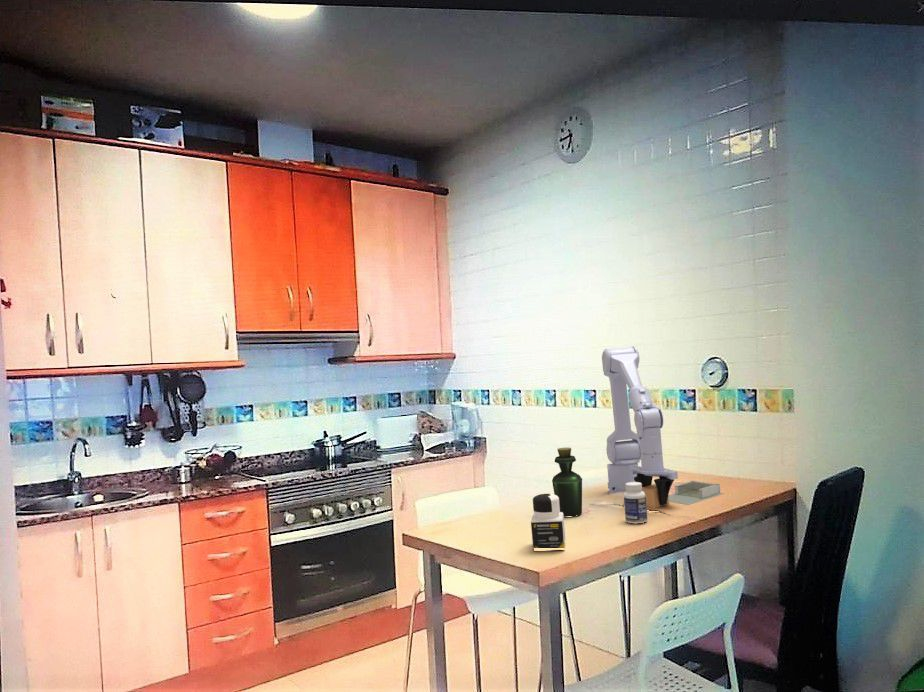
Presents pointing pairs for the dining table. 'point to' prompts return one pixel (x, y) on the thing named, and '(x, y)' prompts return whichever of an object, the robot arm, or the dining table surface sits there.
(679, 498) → the deck plate
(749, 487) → the dining table surface
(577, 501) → the potion bottle
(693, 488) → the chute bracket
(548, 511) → the medicine bottle
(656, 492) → the chute block
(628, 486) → the pill bottle
